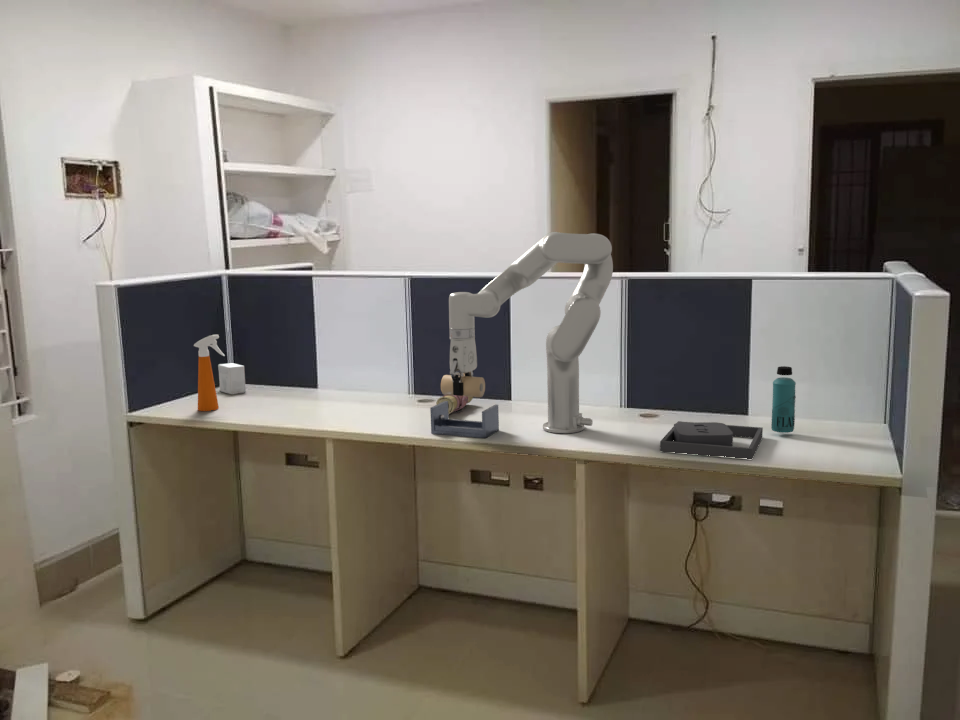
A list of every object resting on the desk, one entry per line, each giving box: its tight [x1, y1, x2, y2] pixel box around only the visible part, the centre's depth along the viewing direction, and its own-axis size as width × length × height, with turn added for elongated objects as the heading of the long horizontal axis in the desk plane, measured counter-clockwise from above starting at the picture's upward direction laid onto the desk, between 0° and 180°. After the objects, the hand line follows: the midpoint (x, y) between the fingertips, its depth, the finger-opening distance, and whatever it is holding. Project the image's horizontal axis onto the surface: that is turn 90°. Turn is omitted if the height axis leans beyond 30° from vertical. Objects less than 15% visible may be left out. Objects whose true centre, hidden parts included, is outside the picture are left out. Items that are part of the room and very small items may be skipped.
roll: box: [440, 374, 486, 398], centre depth 260 cm, size 12×6×6 cm, turn 66°
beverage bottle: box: [770, 365, 797, 434], centre depth 248 cm, size 6×7×20 cm
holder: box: [429, 401, 500, 439], centre depth 261 cm, size 18×10×8 cm, turn 66°
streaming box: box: [673, 421, 734, 447], centre depth 240 cm, size 14×14×5 cm
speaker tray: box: [659, 421, 764, 460], centre depth 241 cm, size 24×24×3 cm
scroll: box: [435, 394, 474, 416], centre depth 290 cm, size 8×8×20 cm
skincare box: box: [217, 362, 247, 395], centre depth 332 cm, size 10×6×10 cm, turn 40°
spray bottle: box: [193, 334, 226, 412], centre depth 301 cm, size 7×11×26 cm, turn 90°
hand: (463, 392), depth 260 cm, fingers closed on roll, 6 cm apart
